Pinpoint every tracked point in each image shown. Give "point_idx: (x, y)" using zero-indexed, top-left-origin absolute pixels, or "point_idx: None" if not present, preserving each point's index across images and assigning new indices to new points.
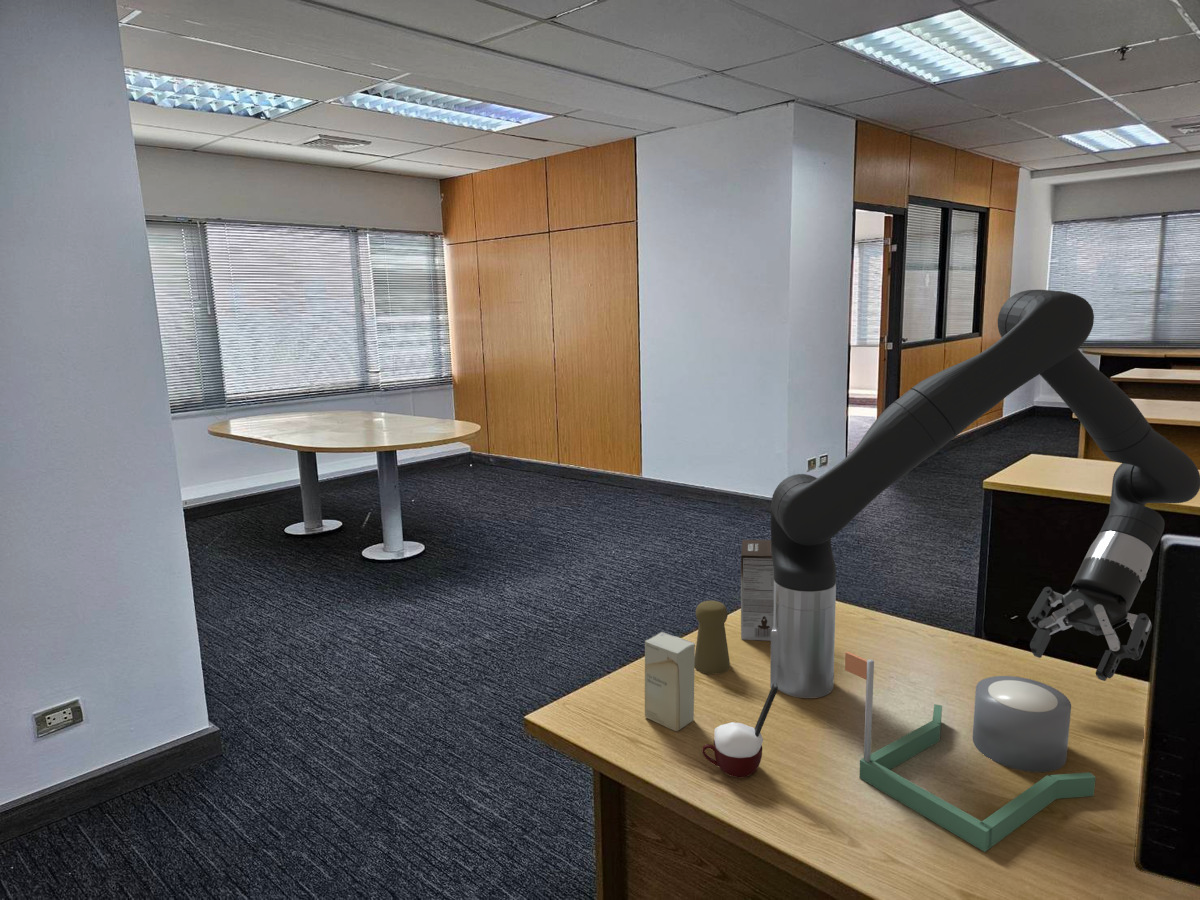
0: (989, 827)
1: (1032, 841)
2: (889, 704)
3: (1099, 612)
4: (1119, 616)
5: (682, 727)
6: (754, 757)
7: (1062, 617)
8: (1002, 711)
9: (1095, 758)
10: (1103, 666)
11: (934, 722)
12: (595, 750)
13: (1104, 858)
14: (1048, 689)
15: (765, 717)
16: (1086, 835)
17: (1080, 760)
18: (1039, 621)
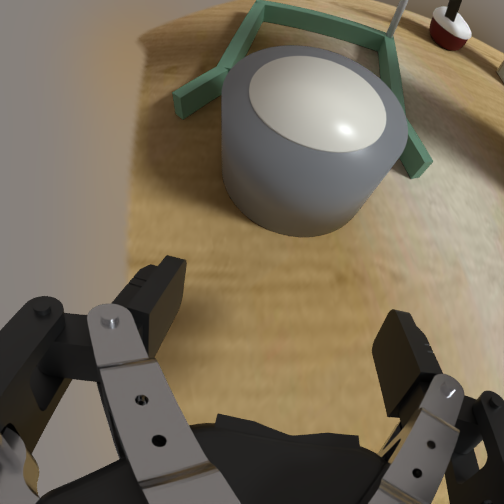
0: (256, 2)
1: (224, 34)
2: (472, 189)
3: (196, 493)
4: (63, 494)
5: (499, 75)
6: (433, 19)
7: (409, 429)
8: (320, 49)
9: (180, 207)
10: (160, 268)
11: None
12: (490, 46)
13: (163, 45)
14: (287, 148)
15: (449, 3)
16: (179, 58)
17: (202, 186)
18: (462, 408)
